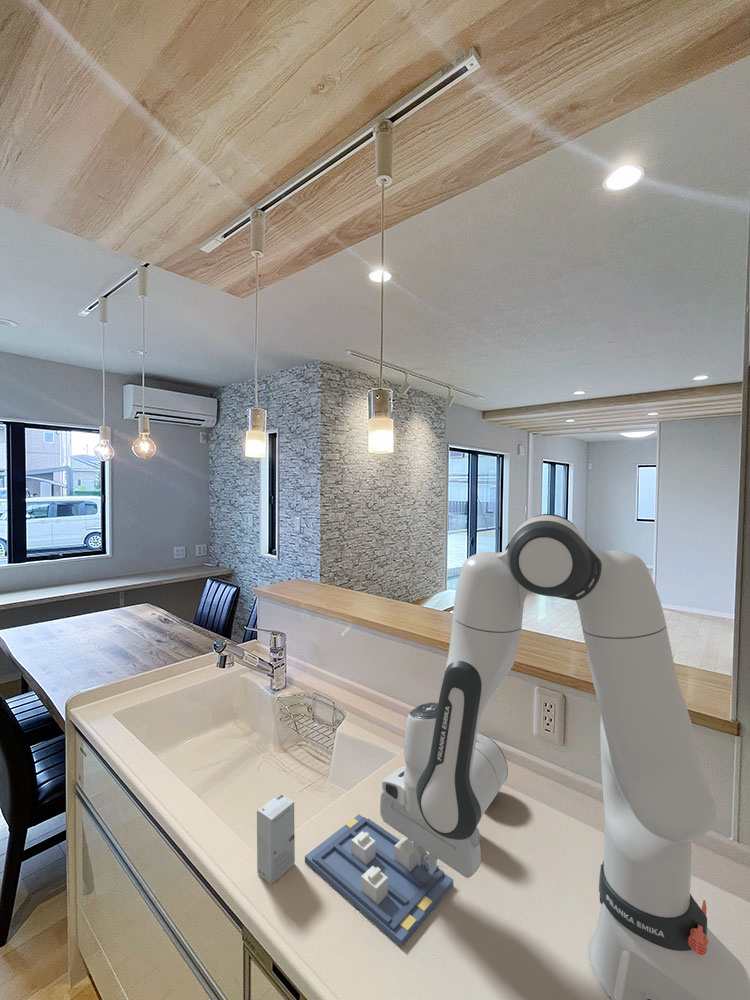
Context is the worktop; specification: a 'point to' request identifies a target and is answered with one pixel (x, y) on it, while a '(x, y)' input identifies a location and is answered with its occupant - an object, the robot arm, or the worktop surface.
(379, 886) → the tab
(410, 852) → the tab
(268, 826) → the skincare box
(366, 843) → the tab
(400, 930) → the switch bank
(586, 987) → the worktop surface
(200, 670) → the worktop surface
